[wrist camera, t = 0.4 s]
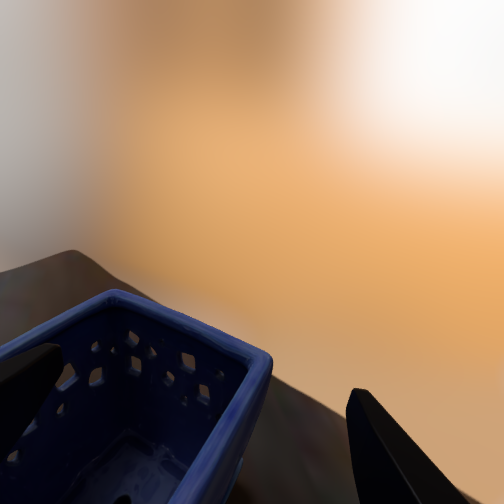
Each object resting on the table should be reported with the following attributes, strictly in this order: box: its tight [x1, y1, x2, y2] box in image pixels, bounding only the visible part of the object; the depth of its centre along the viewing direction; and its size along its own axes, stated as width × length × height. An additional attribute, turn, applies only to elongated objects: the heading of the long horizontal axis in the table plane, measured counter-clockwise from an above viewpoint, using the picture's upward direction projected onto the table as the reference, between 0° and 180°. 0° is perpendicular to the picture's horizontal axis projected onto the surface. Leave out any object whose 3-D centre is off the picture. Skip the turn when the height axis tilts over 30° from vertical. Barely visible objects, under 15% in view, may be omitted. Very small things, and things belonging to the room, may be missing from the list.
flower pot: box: [0, 289, 273, 504], centre depth 16 cm, size 13×13×12 cm
